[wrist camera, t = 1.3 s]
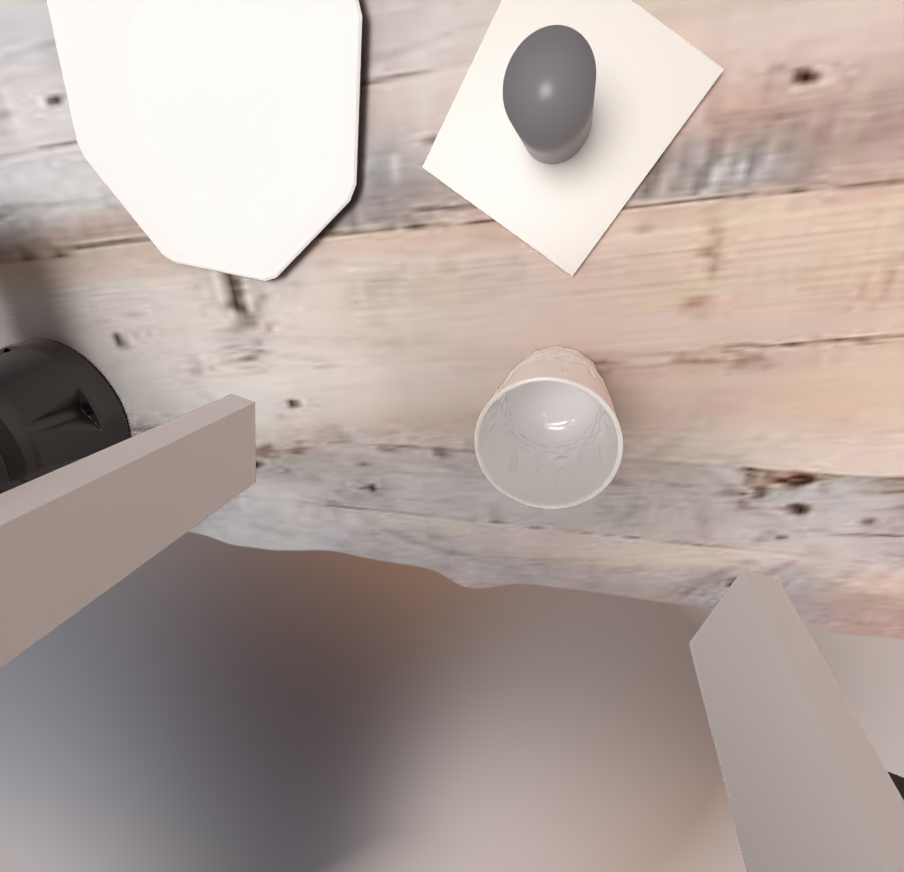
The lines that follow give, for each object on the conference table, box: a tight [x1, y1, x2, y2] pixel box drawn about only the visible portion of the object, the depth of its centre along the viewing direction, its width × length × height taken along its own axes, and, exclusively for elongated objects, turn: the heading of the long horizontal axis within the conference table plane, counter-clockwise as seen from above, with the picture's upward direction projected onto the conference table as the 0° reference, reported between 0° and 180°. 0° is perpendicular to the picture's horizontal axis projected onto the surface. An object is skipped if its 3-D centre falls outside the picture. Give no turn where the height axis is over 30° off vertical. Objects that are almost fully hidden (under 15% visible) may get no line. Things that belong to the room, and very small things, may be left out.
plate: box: [47, 0, 364, 281], centre depth 29 cm, size 24×24×2 cm
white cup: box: [474, 346, 623, 509], centre depth 27 cm, size 8×8×10 cm
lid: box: [422, 0, 724, 276], centre depth 22 cm, size 12×12×8 cm
